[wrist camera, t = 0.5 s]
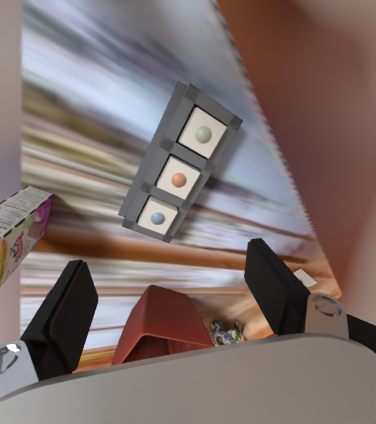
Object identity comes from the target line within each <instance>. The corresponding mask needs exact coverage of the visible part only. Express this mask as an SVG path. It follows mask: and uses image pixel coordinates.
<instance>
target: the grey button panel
mask: <svg viewBox="0 0 376 424" xmlns="http://www.w3.org/2000/svg"><path fill="white" fill-rule="evenodd" d="M194 108H199V109H200V110H202V111H203V112H205V113H206V114H208V115H209V116H211V117H212V118H214V119H215V120H217V121H218V122H220V123H221V124H223V125H224V126H226V127H227V128H226V130H225V131H224V133H223V135H222V137H221V138H220V140H219V142H218V144H217V145H216V147H215V149H214V150H213V152H212V154H211V156H210V157H209V159H208V158H207V157H205V156H203V155H201V154H200V153H198V152H196V151H194V150H193V149H191V148H189V147H187V146H186V145H184V144H182V143H180V142H179V141H178V139H179V137H180V135H181V133H182V131H183V129H184V127H185V125H186V123H187V121H188V119H189V117H190V115H191V113H192V111H193V109H194ZM242 121H243V120H242V119H240V118H239V117H237V116H236V115H234V114H233V113H232V112H230V111H229V110H227V109H226V108H224V107H223V106H222V105H220V104H219V103H217V102H216V101H215V100H213V99H212V98H210V97H209V96H207V95H206V94H205V93H203V92H202V91H200V90H199V89H198V88H196V87H195V86H193V85H192V84H189V85H187V86H185V85H184V84H183V83H181V82H180V81H179V82H178V84H177V86H176V88H175V90H174V92H173V95H172V97H171V99H170V101H169V103H168V106H167V108H166V110H165V112H164V114H163V117H162V119H161V121H160V123H159V125H158V128H157V130H156V132H155V134H154V136H153V139H152V141H151V143H150V145H149V147H148V150H147V152H146V154H145V156H144V158H143V161H142V163H141V165H140V167H139V169H138V172H137V174H136V176H135V178H134V180H133V183H132V185H131V187H130V189H129V191H128V194H127V196H126V198H125V200H124V202H123V205H122V207H121V209H120V211H119V214H118V215H120V216H122V217H125V218H124V221H123V225H122V227H125V228H128V229H130V230H133V231H136V232H139V233H142V234H145V235H147V236H150V237H153V238H156V239H159V240H162V241H164V242H167V243H170V241H171V240H172V238H173V236H174V235H175V233H176V231H177V230H178V228H179V226H180V225H181V223H182V221H183V220H184V218H185V216H186V215H187V213H188V211H189V210H190V208H191V206H192V205H193V203H194V201H195V200H196V198H197V196H198V195H199V193H200V191H201V190H202V188H203V186H204V185H205V183H206V181H207V180H208V178H209V176H210V175H211V173H212V171H213V170H214V168H215V166H216V165H217V163H218V161H219V160H220V158H221V156H222V155H223V153H224V151H225V150H226V148H227V146H228V145H229V143H230V141H231V140H232V138H233V136H234V135H235V133H236V131H237V130H238V128H239V126H240V125H241V123H242ZM170 155H172V156H174V157H176V158H178V159H180V160H181V161H183V162H185V163H187V164H189V165H191V166H193V167H195V168H196V169H198V171H199V172H200V175H199V176H198V178H197V180H196V182H195V183H194V185H193V187H192V188H191V190H190V192H189V194H188V195H187V197H186V199H185V200H184V199H182V198H180V197H178V196H176V195H173V194H171V193H169V192H167V191H165V190H162V189H160V188H158V187H157V181H158V179H159V177H160V175H161V173H162V171H163V169H164V167H165V165H166V163H167V161H168V159H169V157H170ZM150 195H152V196H154V197H157V198H159V199H161V200H164V201H166V202H168V203H171V204H173V205H175V206H176V207H177V211H178V213H177V214H176V216H175V218H174V220H173V221H172V223H171V225H170V226H169V228H168V230H167V232H166V233H165V235H164V234H161V233H158V232H155V231H153V230H150V229H147V228H145V227H142V226H139V225H138V220H139V216H140V214H141V212H142V210H143V208H144V206H145V204H146V202H147V200H148V198H149V196H150Z"/></svg>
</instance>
